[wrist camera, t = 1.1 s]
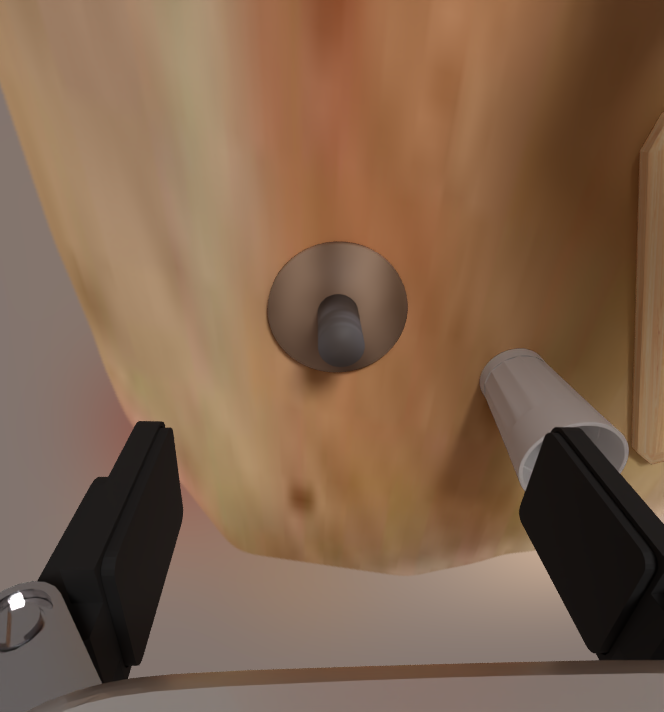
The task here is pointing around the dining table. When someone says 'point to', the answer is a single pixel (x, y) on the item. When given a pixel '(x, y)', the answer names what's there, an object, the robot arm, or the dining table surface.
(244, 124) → the dining table surface
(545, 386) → the cup
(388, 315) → the lid
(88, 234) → the dining table surface
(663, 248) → the cutting board
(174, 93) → the dining table surface
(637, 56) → the dining table surface
